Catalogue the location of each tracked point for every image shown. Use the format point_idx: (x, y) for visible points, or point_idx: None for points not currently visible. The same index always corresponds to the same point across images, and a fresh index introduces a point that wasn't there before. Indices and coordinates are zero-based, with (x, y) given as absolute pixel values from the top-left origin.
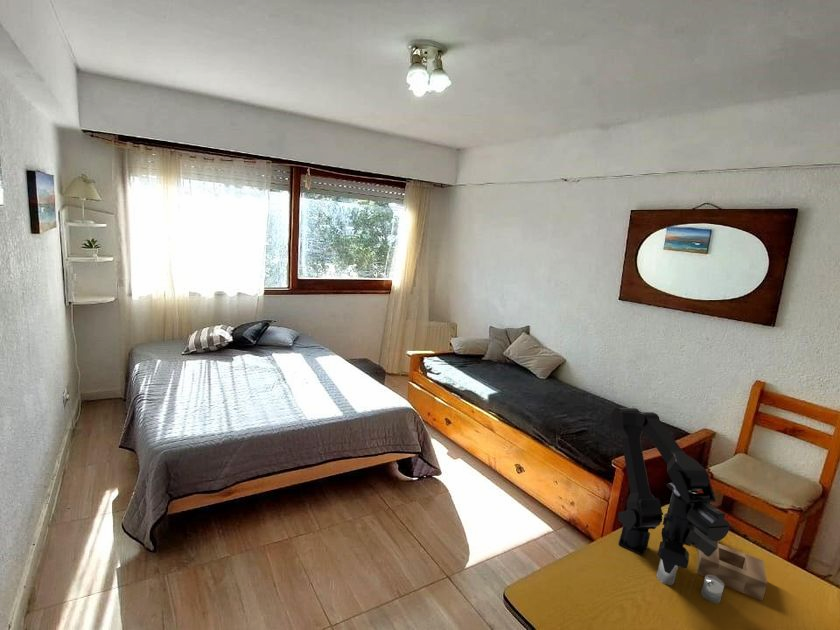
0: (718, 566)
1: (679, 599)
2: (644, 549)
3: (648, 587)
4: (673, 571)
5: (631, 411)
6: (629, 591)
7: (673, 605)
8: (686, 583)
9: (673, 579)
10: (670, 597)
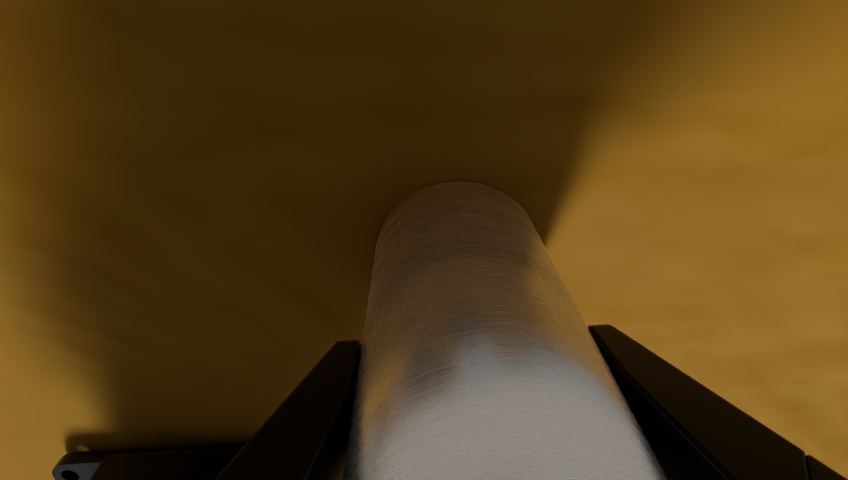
0: None
1: (703, 97)
2: (199, 462)
3: (679, 345)
4: (572, 307)
5: None
6: (804, 430)
7: (833, 140)
8: (349, 57)
9: (517, 221)
10: (718, 179)
